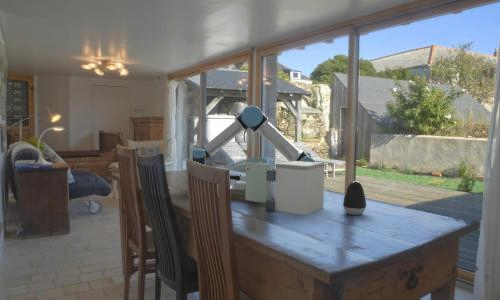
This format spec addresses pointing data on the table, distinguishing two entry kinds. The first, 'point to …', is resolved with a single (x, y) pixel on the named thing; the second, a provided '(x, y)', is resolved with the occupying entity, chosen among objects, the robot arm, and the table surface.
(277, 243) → the table surface
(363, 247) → the table surface
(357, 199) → the black egg-shaped speaker
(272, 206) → the clip hinges
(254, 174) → the sage door
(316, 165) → the cabinet
